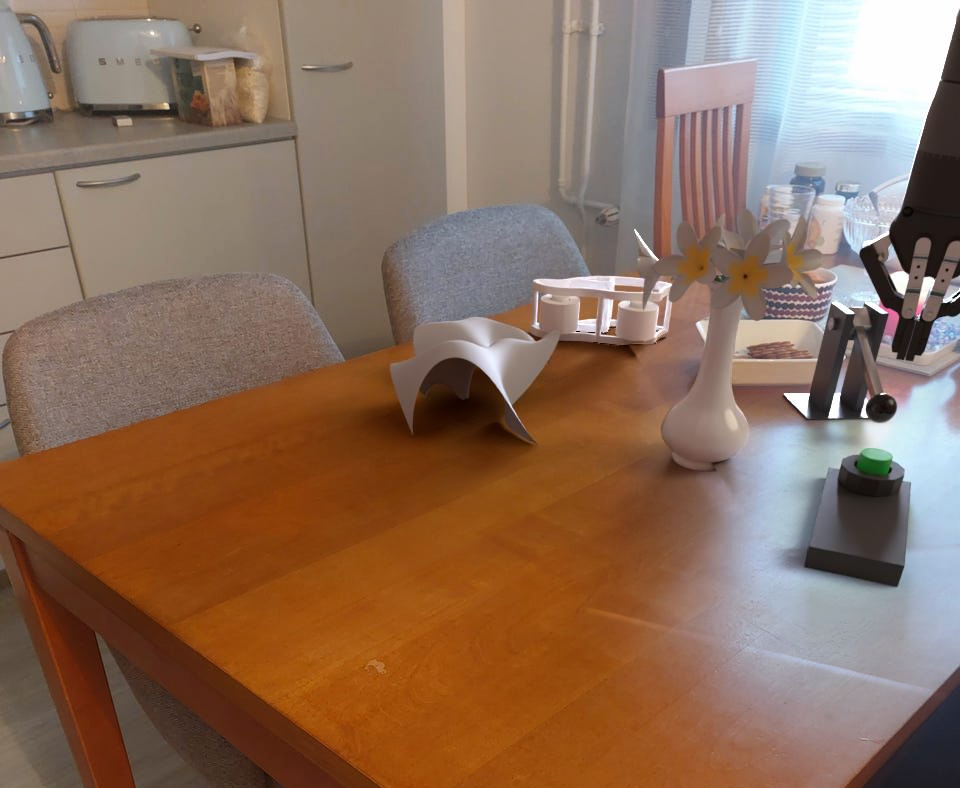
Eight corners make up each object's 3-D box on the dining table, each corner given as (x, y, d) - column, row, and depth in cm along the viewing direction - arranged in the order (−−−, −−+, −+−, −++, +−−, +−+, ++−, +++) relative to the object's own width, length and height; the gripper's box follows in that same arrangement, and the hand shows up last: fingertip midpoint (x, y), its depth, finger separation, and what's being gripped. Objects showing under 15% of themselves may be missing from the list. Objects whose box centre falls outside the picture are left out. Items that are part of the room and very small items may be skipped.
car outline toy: (524, 342, 133) (526, 289, 128) (536, 320, 141) (539, 270, 137) (664, 355, 129) (672, 301, 125) (668, 331, 138) (675, 280, 134)
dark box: (824, 483, 97) (833, 448, 95) (905, 498, 95) (916, 462, 92) (803, 567, 83) (813, 528, 81) (897, 587, 81) (910, 547, 78)
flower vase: (602, 436, 106) (627, 199, 91) (760, 437, 107) (810, 202, 92) (620, 488, 95) (652, 228, 81) (796, 488, 96) (859, 231, 81)
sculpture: (419, 361, 125) (418, 286, 119) (559, 369, 123) (564, 295, 118) (382, 434, 105) (378, 349, 99) (548, 446, 103) (554, 359, 98)
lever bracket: (885, 426, 110) (918, 318, 103) (805, 428, 109) (832, 318, 102) (857, 401, 117) (885, 297, 109) (781, 402, 116) (804, 298, 108)
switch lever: (891, 428, 103) (905, 410, 100) (864, 429, 102) (877, 411, 99) (859, 324, 109) (872, 304, 106) (833, 324, 108) (845, 304, 105)
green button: (857, 461, 93) (861, 445, 92) (888, 467, 92) (893, 451, 91) (855, 473, 91) (859, 456, 90) (887, 479, 90) (892, 462, 89)
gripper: (879, 146, 74) (826, 359, 84) (1062, 160, 70) (984, 382, 80) (883, 135, 80) (834, 336, 90) (1053, 148, 76) (981, 357, 86)
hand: (905, 358), depth 85 cm, fingers closed
